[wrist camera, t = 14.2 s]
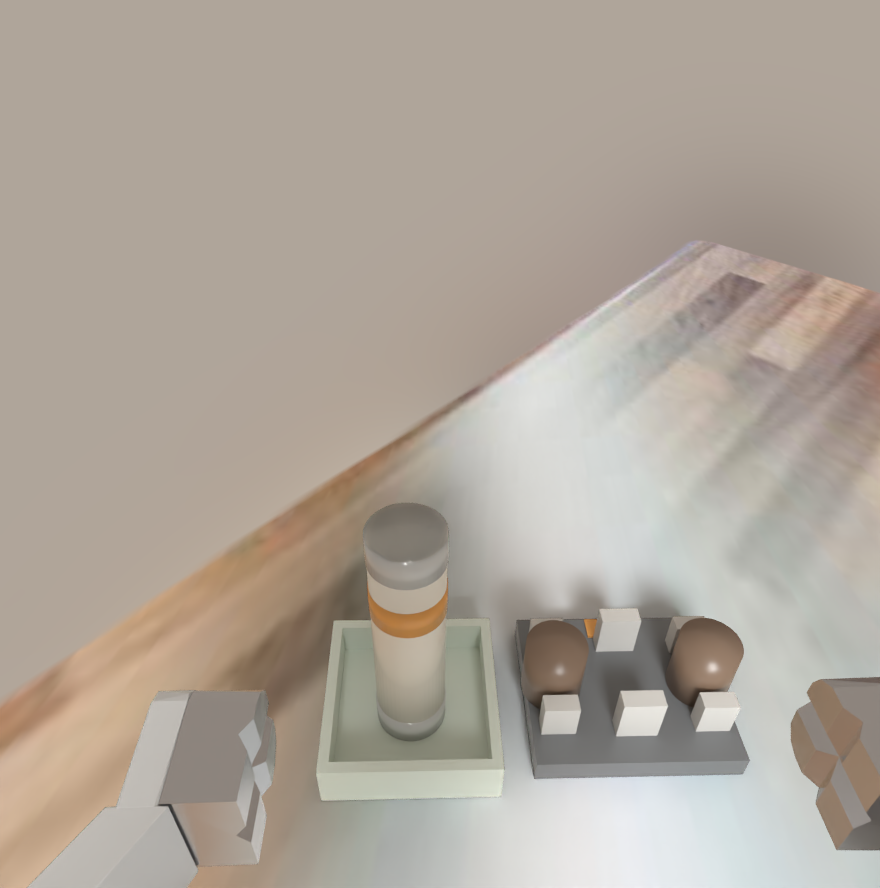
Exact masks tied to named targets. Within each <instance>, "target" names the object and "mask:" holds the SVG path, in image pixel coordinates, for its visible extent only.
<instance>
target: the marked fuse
mask: <svg viewBox="0 0 880 888" xmlns="http://www.w3.org/2000/svg"><path fill="white" fill-rule="evenodd" d="M363 543H364V555H365V564H366V568H367V579H368V581H367V591H368V603H369V613H370V616H371V628H372V641H373V653H374V665H375V678H376V701H377V713H378V719H379V722H380V724H381V726H382V727H383V729H384V730H385V731H386V732H387V733H388V734H389V735H391V736H392V737H394V738H396V739H399V740H402V741H418V740H422V739H425V738H427V737H429V736H430V735H432V734H433V733H434V732H436V731H437V729H438V728H439V727H440V726H441V724H442V722H443V719H444V716H445V698H446V690H445V657H446V614H447V606H448V578H447V566H448V560H449V527H448V524H447V522H446V520H445V519H444V517H443V516H442V515H441V514H440V513H438V512H437V511H436V510H434V509H432V508H430V507H428V506H425V505H422V504H417V503H398V504H393V505H389V506H386V507H384V508H382V509H380V510H378V511H377V512H375V513H374V514H373V515H372V516H371V517H370V518H369V519H368V520H367V522H366V524H365V526H364V529H363Z"/></svg>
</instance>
